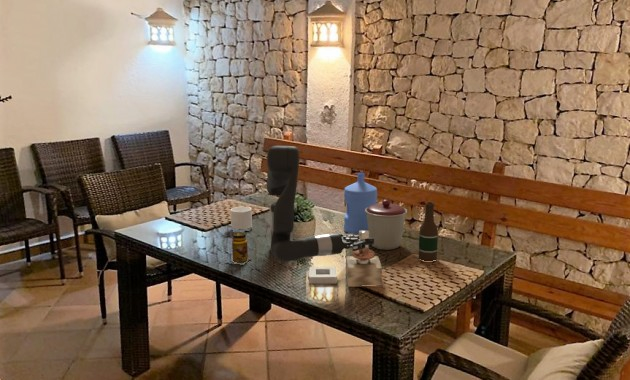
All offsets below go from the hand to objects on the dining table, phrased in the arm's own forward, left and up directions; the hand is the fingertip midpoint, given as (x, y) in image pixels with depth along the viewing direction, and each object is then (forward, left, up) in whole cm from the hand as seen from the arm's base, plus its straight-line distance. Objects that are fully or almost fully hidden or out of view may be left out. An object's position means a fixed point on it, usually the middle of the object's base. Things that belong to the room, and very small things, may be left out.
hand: (370, 239), depth 195 cm
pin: (-3, -1, -12) cm, 12 cm away
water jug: (+1, +59, -16) cm, 61 cm away
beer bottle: (+25, +19, -16) cm, 35 cm away
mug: (-55, +64, -16) cm, 86 cm away
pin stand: (-18, +1, -15) cm, 24 cm away
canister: (+10, +36, -16) cm, 41 cm away
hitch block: (-3, -1, -15) cm, 16 cm away
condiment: (-52, +19, -16) cm, 57 cm away
